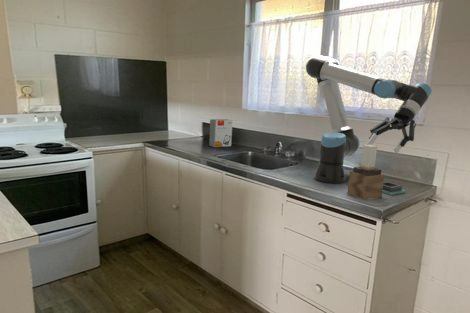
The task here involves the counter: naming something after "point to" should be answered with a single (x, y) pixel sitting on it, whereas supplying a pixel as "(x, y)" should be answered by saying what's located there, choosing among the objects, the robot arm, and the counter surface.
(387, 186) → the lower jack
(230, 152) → the counter surface
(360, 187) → the wooden planter box
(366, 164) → the plug
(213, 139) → the hard drive box
